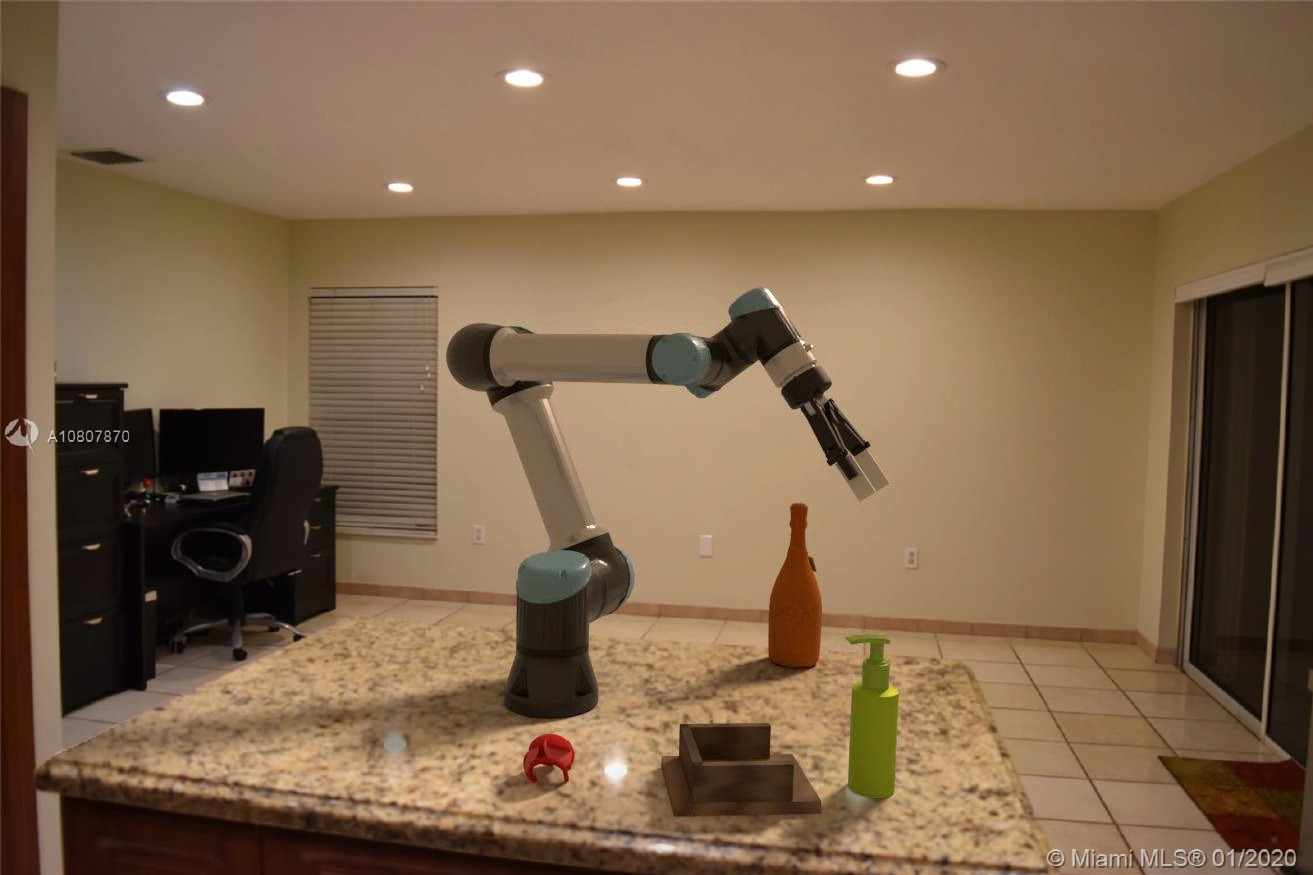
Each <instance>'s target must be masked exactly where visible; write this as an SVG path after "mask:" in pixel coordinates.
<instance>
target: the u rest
mask: <svg viewBox="0 0 1313 875" xmlns="http://www.w3.org/2000/svg"><path fill="white" fill-rule="evenodd" d="M771 734H772V726H771V724H770V722H745V723H744V722H733V723H732V722H729V723H728V722H726V723H719V722H718V723H679V734H678V736H679V738H678V740H679V741H678V755H661V762H660V763H661V765H660V768H661V771H662V775H663V779H664V783H665V787H666V791H667V796H668V798H669V802H670V807H671V810H672V811H671V812H672V814H673V817H674V818H675V817H712V816H713V817H714V816H715V817H716V816H718V817H719V816H720V817H722V816H723V817H724V816H762V815H801V814H803V815H804V814H809V815H810V814H822V799H821V798H820V797H819V795H818V793H817V792H816V789H815V788H814V787H813V785H812V783H811V782H810V779H809V778H808V777H807V775H806V773H805V772H804V770H803V769H802V767H801V765H800V764H799V762H798V761H797V758H795V756H794V754H793V753H771Z"/></svg>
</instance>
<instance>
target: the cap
mask: <svg viewBox="0 0 1313 875" xmlns="http://www.w3.org/2000/svg"><path fill="white" fill-rule="evenodd" d="M575 754H576V752H575V750H574V747H573V745H572V744H571V742H570V740H568V739H566V738H565V737H564V736H562V735H559V734H557V733H545V734H541V735H538V736H537V737H536V738H534V739H533V740H532V741H531V742H530V744H529V746H528V751H527V752H526V753H525V755H524V756H523V761H522V765H523V766H522V767H523V770H524V773H525V776H526V777H527V779H528V781H530V782H531V783H532V784H536V783H537V782H538V777H537V776H536V775H535V774H534V768H535V767H536V766H540V765H543V766H547V767H550V766H551V767H552V766H555V767H557V768H559V769H560V770H561V772H562V775H563V781H564V782H565V783H568V782H569V781H570V777H569V771H570V770H571V769H572V766H573V764H574V761H575Z"/></svg>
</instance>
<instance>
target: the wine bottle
mask: <svg viewBox="0 0 1313 875" xmlns="http://www.w3.org/2000/svg"><path fill="white" fill-rule="evenodd" d="M789 512H790V520H789V523H788V524H789V528H790V529H791V530H790V539H789V540H790V541H789V545H788V549H787V552H786V558H785V560H784V562H783V563H782V565H781V568H780V570H779V572H778V575H777V576H776V579H775V581H774V583H773V586H772V589H771V593H770V597H769V604H768V606H769V607H768V628H767V629H768V631H767V633H768V634H767V635H768V638H767V639H768V640H767V643H768V646H767V650H768V657H769V660H770V661H771V662H772V663H774V664H777V665H779V666H782V667H787V668H794V669H795V668H796V669H797V668H798V669H799V668H800V669H801V668H809V667H813V666H814V665H817V663H818V662H819V660H820V654H821V653H820V652H821V642H822V641H821V640H822V639H821V638H822V625H823V624H822V622H823V621H822V620H823V603H822V602H823V601H822V594H821V590H820V587H819V584H818V581H817V578H816V575H815V573H817V572H818V571H817V568H816V563H815V561H814V560H815V559H814V557H812V556H810V555H809V552H808V549H807V541H806V529H807V527H808V512H809V507H808V505H807V504H806V503H804V502H803V503H802V502H793V503H792V504H791V505H790V507H789ZM814 572H815V573H814Z"/></svg>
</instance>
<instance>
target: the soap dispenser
mask: <svg viewBox="0 0 1313 875" xmlns="http://www.w3.org/2000/svg"><path fill="white" fill-rule="evenodd" d="M844 638H845V640H846V641H847V642H848V643H849V644H850V645H852V646H853V645H857V644H866V643H867V644H868V643H869V644H870V645H869V657H866V658H864V659H863V660H862V672H861V673H862V675H861V681H859V682H856V683H854V684H853V685H852V686H851V697H850V700H851V701H850V720H849V721H850V723H849V724H850V725H849V743H848V744H849V746H848V747H849V750H848V753H849V754H848V770H847V771H848V772H847V776H848V777H847V787H848V789H849V790H850V791H851V792H852V793H853V794H856V795H858V796H860V797H865V798H871V799H885V798H888V797H891V796H892V795H894V793H895V787H896V786H895V785H896V768H897V767H896V765H897V764H896V762H897V742H898V740H897V737H898V718H899V717H898V716H899V700H900V699H899V694H900V691H899V689H898V688H897V687H895V686H893V685H891V684H890V670H891V669H890V668H891V667H890V665H891V663H890V661H888V660H887V659H885V658H884V655H885V654H884V650H885V649H884V647H885V645H890V644H891V639H890V638H889V637H887V635H884V634H883V635H882V634H875V633H874V634H871V633H859V634H853V635H849V636H847V637H844Z"/></svg>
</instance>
